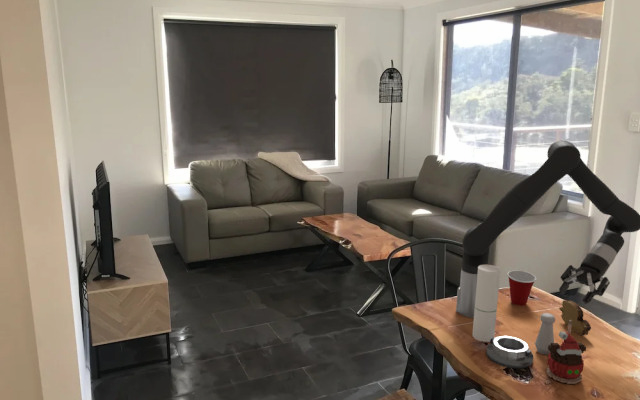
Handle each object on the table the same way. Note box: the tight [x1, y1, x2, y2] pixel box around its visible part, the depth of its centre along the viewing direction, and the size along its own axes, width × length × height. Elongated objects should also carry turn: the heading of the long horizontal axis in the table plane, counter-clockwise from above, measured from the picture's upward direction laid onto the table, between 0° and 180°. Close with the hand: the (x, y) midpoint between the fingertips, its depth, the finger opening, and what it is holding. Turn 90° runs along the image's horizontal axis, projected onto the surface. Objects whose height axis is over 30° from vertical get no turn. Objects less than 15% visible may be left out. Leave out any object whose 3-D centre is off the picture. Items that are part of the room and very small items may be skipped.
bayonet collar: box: [485, 335, 534, 370], centre depth 162 cm, size 14×14×4 cm
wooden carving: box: [558, 299, 592, 337], centre depth 181 cm, size 16×5×10 cm, turn 9°
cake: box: [546, 320, 587, 385], centre depth 149 cm, size 11×9×18 cm
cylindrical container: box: [471, 264, 501, 343], centre depth 173 cm, size 7×7×25 cm
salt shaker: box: [534, 312, 556, 356], centre depth 164 cm, size 6×6×13 cm
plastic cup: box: [506, 269, 537, 307], centre depth 202 cm, size 11×11×12 cm
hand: (572, 297), depth 167 cm, fingers open, 8 cm apart
